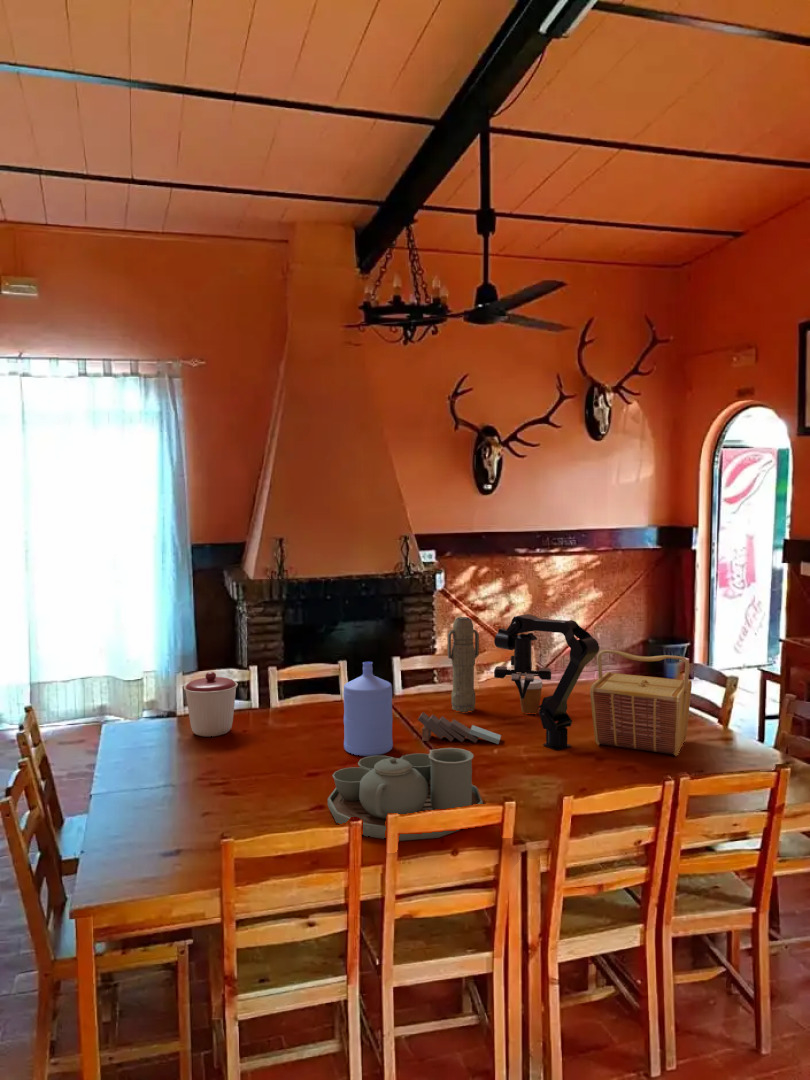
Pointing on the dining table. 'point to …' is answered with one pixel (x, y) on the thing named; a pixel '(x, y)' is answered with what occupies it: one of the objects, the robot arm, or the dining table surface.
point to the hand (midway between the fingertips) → (522, 698)
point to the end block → (426, 734)
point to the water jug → (368, 714)
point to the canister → (211, 704)
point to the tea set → (403, 788)
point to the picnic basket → (641, 708)
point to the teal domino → (485, 734)
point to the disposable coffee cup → (531, 696)
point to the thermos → (463, 663)
